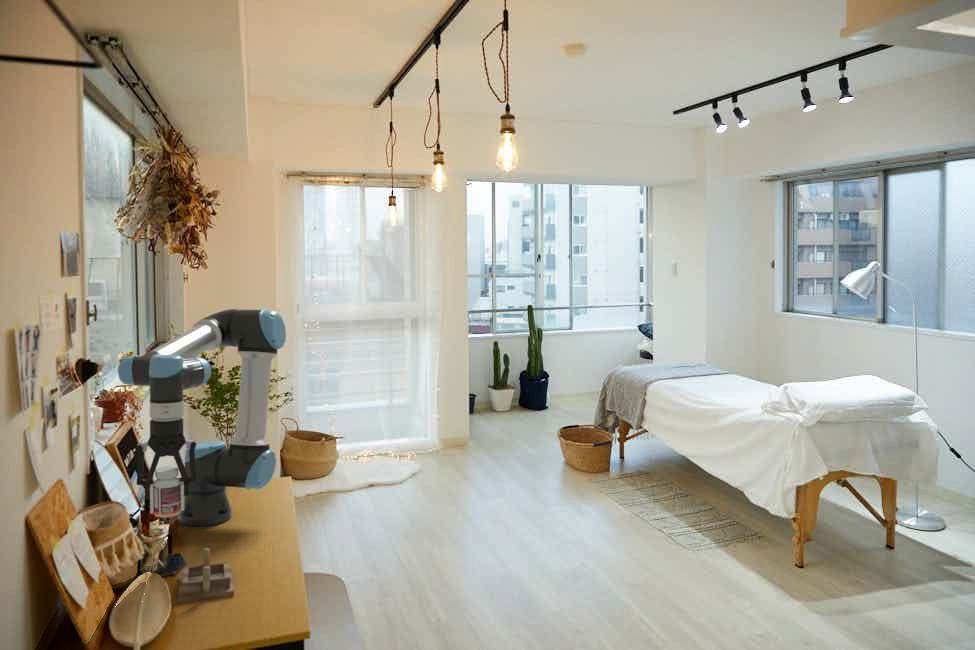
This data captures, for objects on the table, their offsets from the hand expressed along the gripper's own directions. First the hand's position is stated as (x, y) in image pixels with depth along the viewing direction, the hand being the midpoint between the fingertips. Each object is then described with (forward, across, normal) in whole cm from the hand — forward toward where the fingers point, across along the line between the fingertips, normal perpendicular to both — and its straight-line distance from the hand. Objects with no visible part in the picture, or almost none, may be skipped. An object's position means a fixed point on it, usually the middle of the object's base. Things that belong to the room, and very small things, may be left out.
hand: (167, 510), depth 180 cm
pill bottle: (+1, 0, 0) cm, 1 cm away
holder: (+17, +9, -10) cm, 21 cm away
